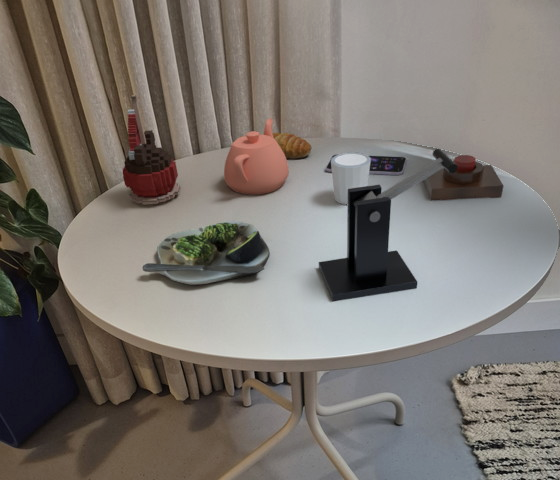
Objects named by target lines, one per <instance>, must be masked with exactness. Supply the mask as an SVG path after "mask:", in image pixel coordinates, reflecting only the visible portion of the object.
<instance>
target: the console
mask: <svg viewBox="0 0 560 480" xmlns="http://www.w3.org/2000/svg"><path fill="white" fill-rule="evenodd" d="M452 161H453V162H454V159H452ZM422 182H423V183H424V187H425V189H426V192H427V194H428V195H427V196H428V198H429V201H430V202H435V201H437V202H438V201H453V200H468V199H469V200H470V199H499V198H502V195H503V190H504V183H503V182H502V180H501V178H500V177H499V175H498V174H497V172H496V171H495V168H494V167H493V165H492V164H483V163H481V162H479V161H477V160H476V162H475V168H474V170H472V171H456V172H455V173H449V172H448V171H447V170H446V169H445V168H442V169H441V170H439V171H438V172H436V173H434V174H433V175H431V176H429V177H428V178H426V179H424V180H423V181H422Z"/></svg>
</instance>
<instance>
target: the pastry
mask: <svg viewBox="0 0 560 480" xmlns="http://www.w3.org/2000/svg"><path fill="white" fill-rule="evenodd" d="M272 134H273V138H274V139H275V140H276V142H277V143H278V145H279V146H280V148H281V149H282V151H283V153H284V155H285V157H286V159H291V160H292V159H294V160H297V159H299V158H305V157H307V156H308V155H310V154H311V152H312V149H313V146H312V144H310V143H309V142H308V141H307V140H306V139H304V138H301V136H296V134H294V133H288V132H283V133H280V132H272Z"/></svg>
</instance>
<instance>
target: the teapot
mask: <svg viewBox="0 0 560 480" xmlns="http://www.w3.org/2000/svg"><path fill="white" fill-rule="evenodd" d="M273 122H274V121H273V118H272V117H271V118H268V119H267V120H266V121H265V125H264V131H263V134H260V132H258V131H255V130H252V131H248V132H246V133H245V135H243V136H240V137H238V138H236V139H235V140H234V141H233V142H232V144H231V145H230V148H229V151H228V153H227V156H226V159H225V162H224V168H223V177H224V181H225V183H226V185H227V186H228V187H229V188H230V189H231V190H232V191H234V192H236V193H238V194H242V195H266V194H270V193H273V192H275V191H277V190H279V189H280V188H281V187H282V186H283V185H284V184H285V182H286V181H287V179H288V177H289V173H290V169H289V164H288V160H287V158H286V157H285V155H284V153H283V151H282V149H281V148H280V146H279V145H278V143H277V142H276V140H275V139H274V138H273Z"/></svg>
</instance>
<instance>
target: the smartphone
mask: <svg viewBox="0 0 560 480" xmlns="http://www.w3.org/2000/svg"><path fill="white" fill-rule="evenodd" d="M339 154H340V153H339ZM339 154H338V153H337V154H333V155H331V156H330V158H329V160H328V162H327V164H326V166H325V171H326V172H328V173H332V167H331V159H332V158H333V157H334V156H336V155H339ZM367 155H368V154H367ZM368 156H369V157H370V158H371V162H370V170H369V175H388V176H389V175H391V176H399V175H402V174H404V171H405V167H406V164H407V162H408V161H407V157H406V156H395V155H394V156H393V155H392V156H391V155H368Z"/></svg>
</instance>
